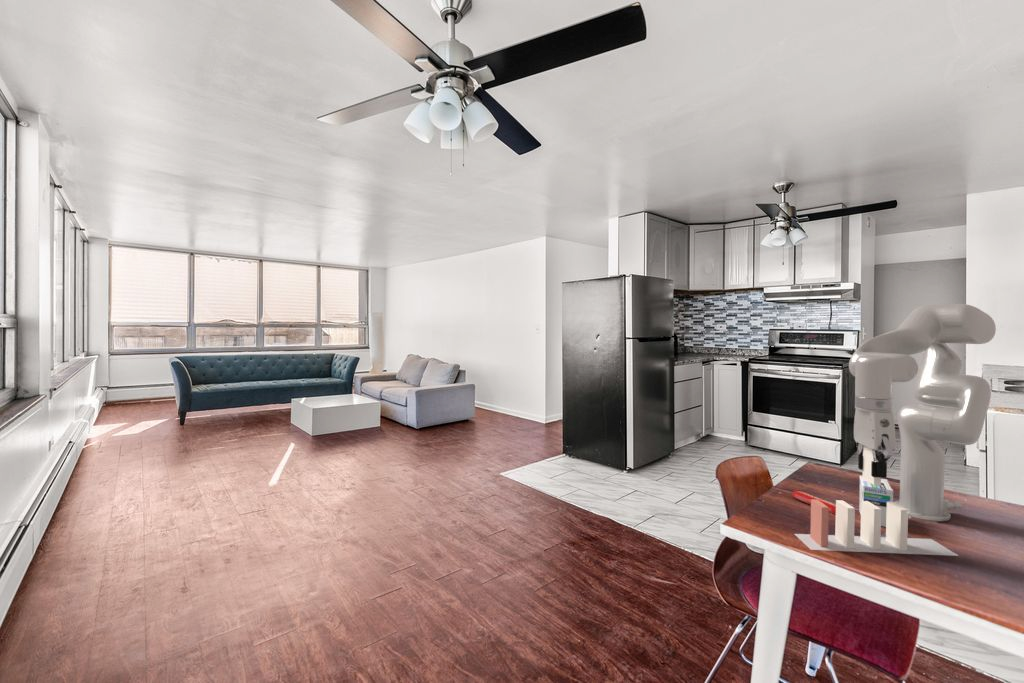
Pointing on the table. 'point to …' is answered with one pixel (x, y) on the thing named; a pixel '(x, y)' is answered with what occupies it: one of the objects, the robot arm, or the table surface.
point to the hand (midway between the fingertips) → (872, 472)
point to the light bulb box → (876, 496)
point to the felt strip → (885, 547)
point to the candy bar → (808, 497)
